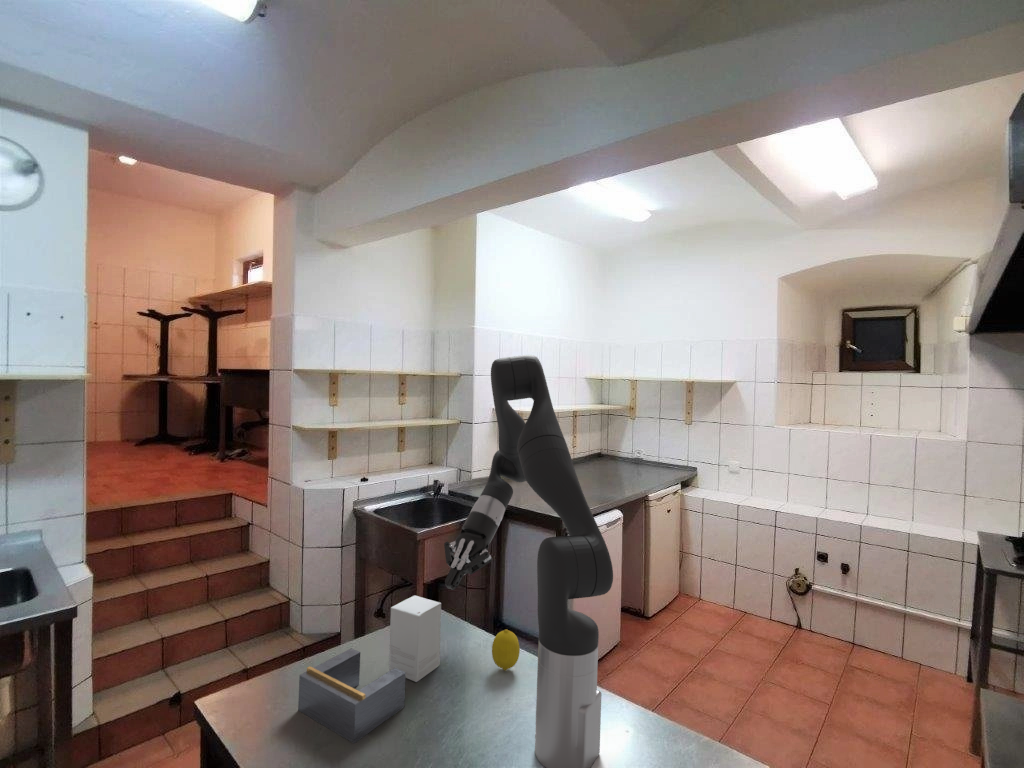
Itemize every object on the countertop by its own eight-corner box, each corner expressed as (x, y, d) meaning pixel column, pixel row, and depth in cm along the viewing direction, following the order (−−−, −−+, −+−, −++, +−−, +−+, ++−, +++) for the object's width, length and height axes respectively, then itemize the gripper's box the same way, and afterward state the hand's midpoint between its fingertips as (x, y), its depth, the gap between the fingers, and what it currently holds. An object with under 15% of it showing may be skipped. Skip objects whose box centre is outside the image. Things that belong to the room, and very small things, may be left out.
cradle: (404, 707, 87) (405, 668, 87) (353, 743, 78) (355, 700, 78) (350, 680, 95) (351, 644, 95) (298, 710, 85) (299, 671, 85)
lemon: (519, 663, 102) (521, 624, 102) (517, 679, 97) (518, 637, 97) (493, 661, 103) (494, 622, 103) (489, 676, 97) (490, 635, 97)
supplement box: (440, 665, 101) (443, 602, 101) (415, 683, 94) (418, 616, 94) (412, 654, 104) (415, 593, 105) (387, 671, 98) (389, 606, 98)
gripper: (455, 506, 120) (418, 571, 110) (501, 515, 113) (466, 586, 102) (468, 523, 124) (433, 588, 114) (513, 533, 117) (480, 603, 107)
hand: (449, 587), depth 108 cm, fingers closed
